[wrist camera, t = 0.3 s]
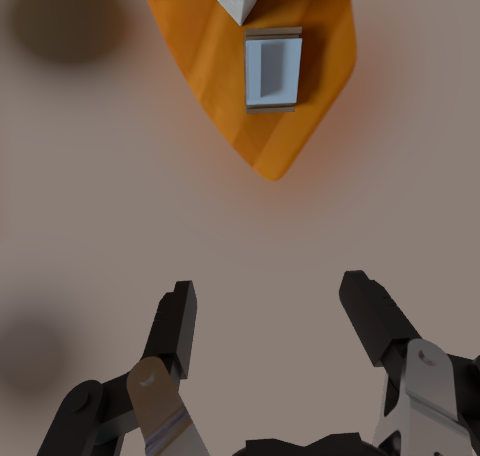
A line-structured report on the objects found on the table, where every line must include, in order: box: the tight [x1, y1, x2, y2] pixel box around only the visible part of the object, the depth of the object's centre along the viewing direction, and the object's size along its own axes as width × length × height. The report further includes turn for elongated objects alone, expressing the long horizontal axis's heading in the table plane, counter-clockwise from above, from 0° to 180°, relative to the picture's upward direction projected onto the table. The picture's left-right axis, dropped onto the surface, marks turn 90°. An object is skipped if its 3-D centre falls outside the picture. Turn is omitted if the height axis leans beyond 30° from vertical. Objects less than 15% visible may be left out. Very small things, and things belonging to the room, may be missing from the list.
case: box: [244, 27, 302, 114], centre depth 27 cm, size 8×6×4 cm
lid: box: [246, 38, 302, 105], centre depth 24 cm, size 6×6×5 cm
